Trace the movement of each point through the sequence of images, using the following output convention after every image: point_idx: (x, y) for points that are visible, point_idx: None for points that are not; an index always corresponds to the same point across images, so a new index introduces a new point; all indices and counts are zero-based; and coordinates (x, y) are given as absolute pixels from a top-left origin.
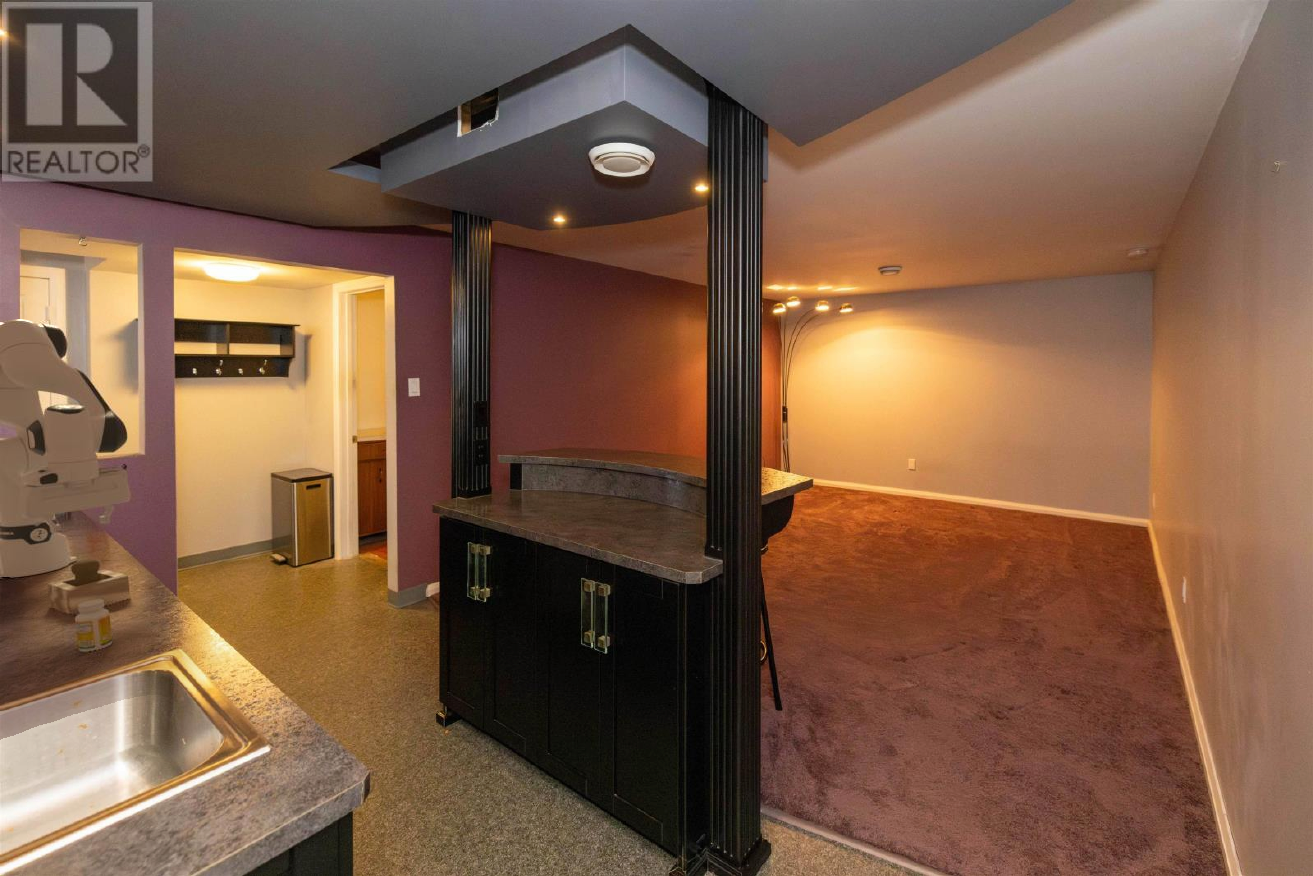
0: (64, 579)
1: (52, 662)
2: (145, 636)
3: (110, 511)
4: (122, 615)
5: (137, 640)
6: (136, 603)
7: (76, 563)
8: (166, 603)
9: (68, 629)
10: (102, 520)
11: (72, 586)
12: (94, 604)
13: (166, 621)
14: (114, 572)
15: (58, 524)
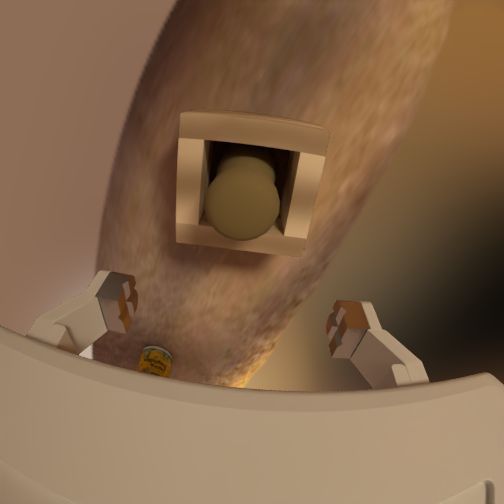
0: (221, 116)
1: (120, 348)
2: (199, 372)
3: (373, 381)
4: (228, 297)
5: (189, 373)
6: (277, 264)
7: (213, 214)
8: (291, 309)
9: (157, 278)
10: (335, 331)
11: (194, 214)
12: None
13: (237, 360)
14: (315, 193)
15: (118, 315)
